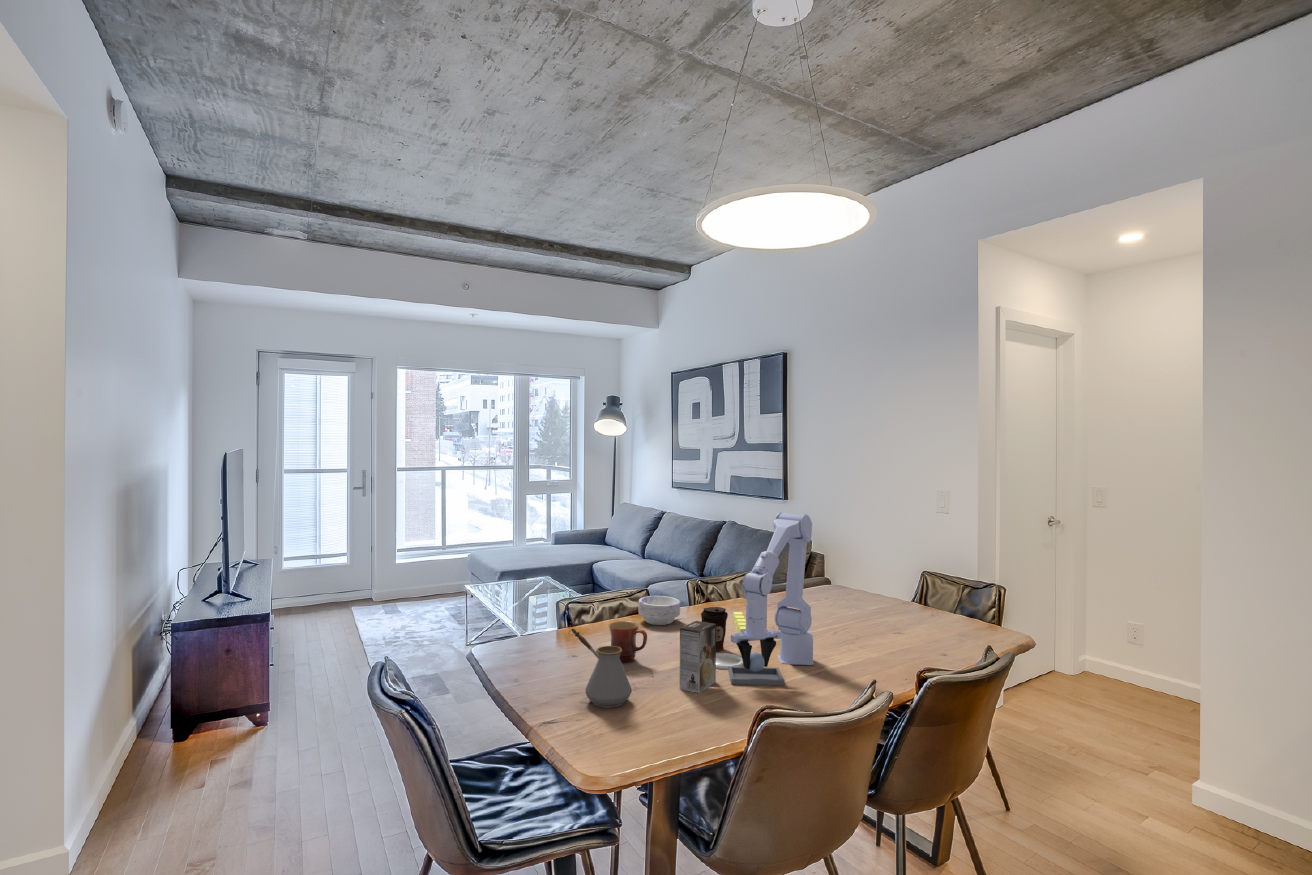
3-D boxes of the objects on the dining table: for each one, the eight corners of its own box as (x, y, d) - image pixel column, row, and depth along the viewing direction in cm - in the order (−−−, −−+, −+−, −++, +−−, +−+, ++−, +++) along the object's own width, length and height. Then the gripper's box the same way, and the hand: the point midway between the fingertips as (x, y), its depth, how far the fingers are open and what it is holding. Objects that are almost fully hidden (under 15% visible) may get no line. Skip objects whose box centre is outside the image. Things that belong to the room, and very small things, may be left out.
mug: (602, 661, 191) (603, 626, 191) (616, 653, 199) (617, 619, 199) (639, 668, 186) (640, 632, 186) (652, 659, 194) (653, 624, 194)
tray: (778, 674, 183) (778, 667, 183) (784, 687, 173) (784, 680, 173) (728, 672, 183) (728, 666, 183) (731, 685, 173) (731, 678, 173)
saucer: (741, 657, 197) (741, 653, 197) (745, 670, 185) (745, 666, 185) (701, 656, 197) (701, 652, 197) (703, 669, 185) (703, 665, 185)
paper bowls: (681, 627, 228) (681, 605, 229) (637, 627, 228) (638, 604, 228) (678, 616, 244) (679, 595, 244) (638, 616, 243) (638, 594, 243)
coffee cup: (725, 655, 198) (726, 613, 198) (698, 653, 200) (699, 611, 200) (728, 647, 207) (729, 606, 207) (702, 645, 208) (703, 604, 209)
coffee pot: (641, 702, 161) (642, 641, 161) (605, 715, 153) (606, 651, 153) (587, 679, 176) (588, 623, 176) (552, 690, 168) (553, 631, 168)
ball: (757, 667, 181) (758, 649, 182) (767, 673, 177) (768, 654, 177) (742, 668, 179) (743, 650, 180) (752, 674, 175) (753, 656, 175)
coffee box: (695, 678, 178) (696, 619, 178) (716, 683, 175) (717, 623, 175) (678, 688, 170) (679, 627, 171) (700, 694, 167) (701, 631, 167)
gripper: (771, 611, 185) (771, 659, 184) (726, 615, 179) (725, 664, 179) (785, 617, 178) (784, 667, 178) (738, 621, 173) (737, 673, 173)
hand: (755, 666), depth 178 cm, fingers closed on ball, 5 cm apart
